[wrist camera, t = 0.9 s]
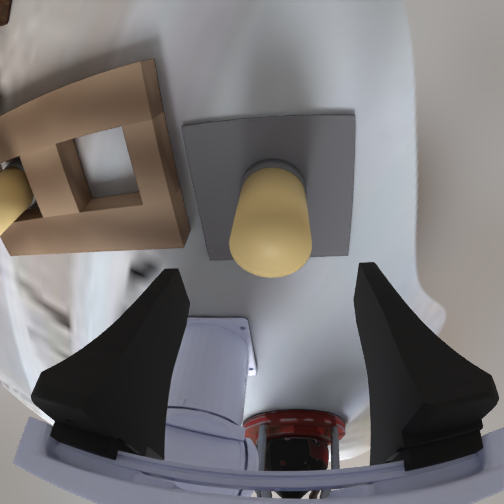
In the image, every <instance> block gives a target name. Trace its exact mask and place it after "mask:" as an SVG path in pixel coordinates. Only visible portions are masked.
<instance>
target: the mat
mask: <svg viewBox="0 0 504 504" xmlns="http://www.w3.org/2000/svg"><path fill="white" fill-rule="evenodd" d="M181 128H182V133H183V138H184V143H185V148H186V153H187V158H188V163H189V168H190V173H191V178H192V182H193V187H194V192H195V196H196V201H197V206H198V210H199V215H200V219H201V224H202V228H203V232H204V237H205V241H206V245H207V250H208V254H209V258H210V260H234V258H233V257H232V254H231V252H230V247H229V240H230V235H231V231H232V227H233V222H234V218H235V214H236V210H237V205H238V201H239V190H240V185H241V181H242V178H243V176H244V174H245V172H246V171H247V170H248V168H249V167H250V166H252V165H253V164H254V163H256V162H258V161H261V160H264V159H270V158H276V159H282V160H285V161H287V162H289V163H291V164H293V165H294V166H296V167H297V168H298V169H299V171H300V172H301V173H302V175H303V177H304V180H305V184H306V190H307V209H308V216H309V224H310V232H311V240H312V250H311V254H310V256H309V257H326V256H348V251H349V241H350V229H351V216H352V202H353V185H354V161H355V115H292V116H273V117H258V118H246V119H235V120H225V121H216V122H208V123H200V124H192V125H185V126H182V127H181Z"/></svg>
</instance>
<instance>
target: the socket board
mask: <svg viewBox="0 0 504 504" xmlns="http://www.w3.org/2000/svg"><path fill="white" fill-rule="evenodd" d="M120 126H122V129H123V133H124V137H125V141H126V145H127V149H128V152H129V156H130V160H131V164H132V167H133V171H134V174H135V178H136V181H137V185H138V188H139V192H136V193H128V194H120V195H113V196H105V197H98V198H92V196H91V193H90V190H89V187H88V184H87V181H86V178H85V175H84V172H83V169H82V166H81V163H80V160H79V157H78V154H77V150H76V147H75V144H74V140H73V138H77V137H81V136H84V135H88V134H92V133H96V132H99V131H103V130H108V129H112V128H116V127H120ZM18 156H20V159H21V162H22V165H23V168H24V170H25V173H26V176H27V179H28V181H29V184H30V186H31V189H32V191H33V194H34V196H35V199H36V201H37V204H38V206H39V207H38V208H32V209H27V210H25V211H24V212H23V213H22V214H21V215H20V216H19V217H18V218H17V219H16V220H15V221H14V222H13V223H12V224H11V225H10V226H9V227H8V228H7V229H6V230H5V231H4V232H3V233H2V234H1V235H0V237H1V239H2V241H3V243H4V245H5V247H6V249H7V251H8V253H9V254H10V256H20V255H39V254H59V253H79V252H100V251H122V250H144V249H167V248H184V246H185V244H186V241H187V239H188V236H189V234H190V231H191V230H190V226H189V222H188V218H187V214H186V209H185V205H184V201H183V197H182V193H181V189H180V184H179V180H178V176H177V171H176V167H175V162H174V158H173V153H172V149H171V144H170V139H169V134H168V130H167V125H166V120H165V115H164V110H163V105H162V100H161V94H160V89H159V84H158V78H157V73H156V67H155V61H154V59H149V60H145V61H140V62H136V63H133V64H129V65H126V66H122V67H119V68H115V69H112V70H109V71H106V72H103V73H100V74H97V75H94V76H91V77H88V78H85V79H82V80H80V81H77V82H74V83H72V84H69V85H67V86H64V87H62V88H59V89H57V90H54V91H52V92H49V93H47V94H45V95H43V96H40V97H38V98H36V99H34V100H32V101H29V102H27V103H25V104H23V105H21V106H19V107H17V108H15V109H13V110H11V111H9V112H7V113H5V114H3V115H1V116H0V163H2V162H5V161H7V160H10V159H13V158H15V157H18ZM1 172H2V169H1V166H0V173H1Z"/></svg>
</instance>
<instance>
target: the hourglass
mask: <svg viewBox="0 0 504 504" xmlns="http://www.w3.org/2000/svg"><path fill="white" fill-rule="evenodd" d="M243 427H245V438H250V439H251V440H252V441H253V443H254V445H255V447H256V448H257V451H258V457H259V468H258V471H316V470H327V468H328V461H329V451H328V447H327V446H328V445H331V470H333V469H340V468H339V467H340V466H339V440H341V439H342V438H343V437H344V435H345V422H344V421H343V420H342V419H341V418H340V417H339V416H336V415H333V414H330V413H326V412H319V411H313V410H286V411H274V412H269V413H263V414H259V415H257V416H254V417H251V418H249V419H248V420H247V421H245V422H244V423H243ZM254 491H255V492H256V494H257V497H261V498H272V493H271V491H258V490H254ZM319 491H320V490H314V491H312V492H311V493H310V495H309V499H317V495H318V493H319ZM275 492H276V493H277V494H278V495H279V496H280V497H281V498H283V499H301V498H302V497H303V496H304V495H305V494H306V493H307V492H308V491H275ZM330 492H331V490H321V494H320V499H326V498H327V497H329V493H330Z"/></svg>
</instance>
